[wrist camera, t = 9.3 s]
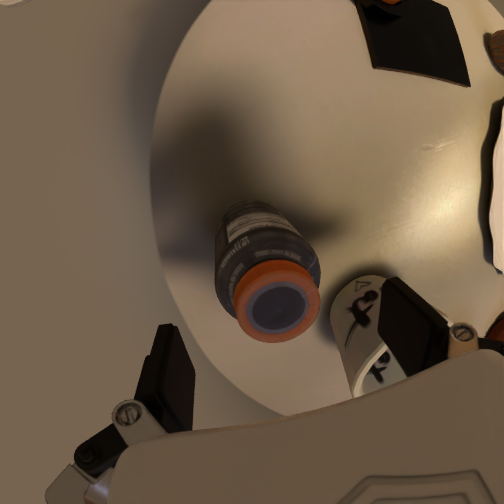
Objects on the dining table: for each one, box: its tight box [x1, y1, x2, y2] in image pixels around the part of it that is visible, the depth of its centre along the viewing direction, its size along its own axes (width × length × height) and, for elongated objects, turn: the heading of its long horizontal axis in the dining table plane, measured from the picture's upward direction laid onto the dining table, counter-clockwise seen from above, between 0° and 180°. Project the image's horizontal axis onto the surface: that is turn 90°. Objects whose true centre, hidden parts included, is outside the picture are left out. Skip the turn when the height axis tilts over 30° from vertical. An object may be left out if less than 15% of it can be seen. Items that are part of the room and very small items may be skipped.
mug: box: [330, 275, 454, 398], centre depth 23 cm, size 10×15×10 cm
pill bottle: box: [215, 201, 321, 343], centre depth 17 cm, size 6×6×11 cm
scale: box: [354, 0, 471, 87], centre depth 15 cm, size 11×14×2 cm
